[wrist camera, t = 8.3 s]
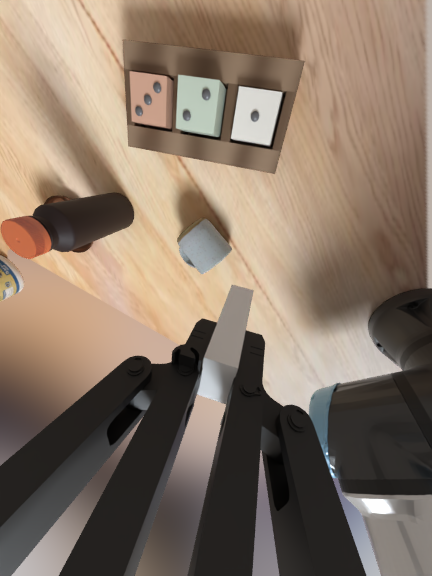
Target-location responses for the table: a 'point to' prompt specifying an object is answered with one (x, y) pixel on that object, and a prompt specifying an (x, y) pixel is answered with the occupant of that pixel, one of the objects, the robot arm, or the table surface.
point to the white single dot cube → (256, 115)
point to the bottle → (67, 224)
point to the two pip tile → (200, 105)
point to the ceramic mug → (202, 246)
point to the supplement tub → (9, 279)
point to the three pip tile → (151, 99)
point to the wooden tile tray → (232, 75)
